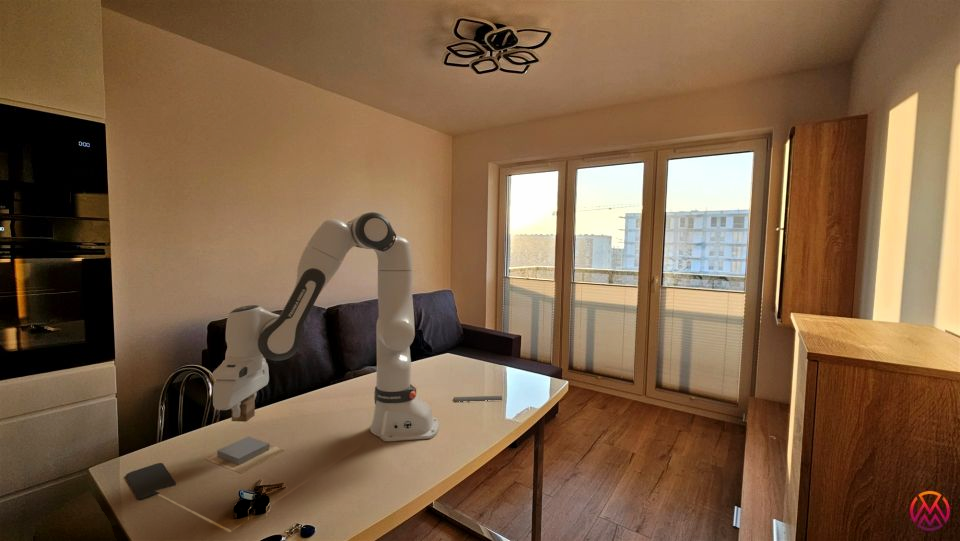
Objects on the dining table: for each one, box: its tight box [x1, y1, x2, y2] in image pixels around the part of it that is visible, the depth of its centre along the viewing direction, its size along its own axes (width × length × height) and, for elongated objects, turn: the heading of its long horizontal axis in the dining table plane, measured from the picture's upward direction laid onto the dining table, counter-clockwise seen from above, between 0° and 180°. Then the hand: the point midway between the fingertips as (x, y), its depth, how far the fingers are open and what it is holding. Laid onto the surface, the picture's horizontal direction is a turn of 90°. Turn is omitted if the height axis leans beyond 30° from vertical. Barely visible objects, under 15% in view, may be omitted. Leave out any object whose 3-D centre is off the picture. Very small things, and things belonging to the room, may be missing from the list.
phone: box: [125, 462, 177, 501], centre depth 94 cm, size 7×1×15 cm
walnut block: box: [231, 397, 256, 423], centre depth 107 cm, size 4×4×5 cm
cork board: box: [205, 444, 286, 475], centre depth 107 cm, size 15×13×1 cm
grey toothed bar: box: [453, 395, 503, 403], centre depth 153 cm, size 4×20×2 cm, turn 99°
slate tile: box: [216, 436, 270, 465], centre depth 107 cm, size 2×9×9 cm
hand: (243, 412), depth 107 cm, fingers closed on walnut block, 4 cm apart
